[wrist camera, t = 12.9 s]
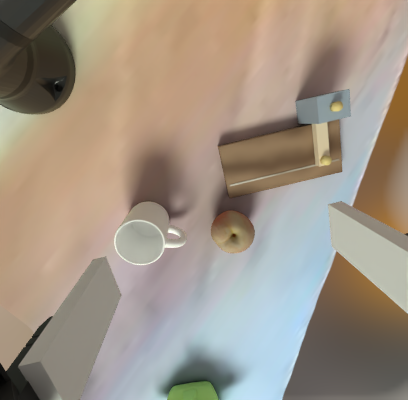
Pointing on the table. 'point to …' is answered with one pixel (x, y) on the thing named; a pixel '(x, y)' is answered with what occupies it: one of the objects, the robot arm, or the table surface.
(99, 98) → the table surface
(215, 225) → the fruit
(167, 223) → the mug
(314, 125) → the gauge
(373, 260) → the robot arm
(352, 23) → the table surface
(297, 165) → the board
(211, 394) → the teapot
